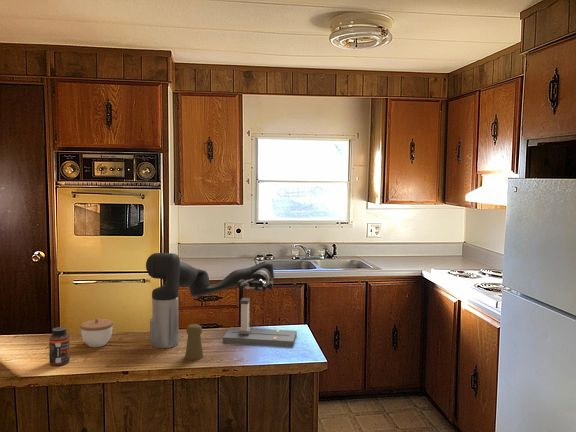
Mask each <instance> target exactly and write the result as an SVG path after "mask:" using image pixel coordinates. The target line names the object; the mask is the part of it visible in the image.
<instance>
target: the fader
mask: <svg viewBox="0 0 576 432" xmlns="http://www.w3.org/2000/svg"><path fill="white" fill-rule="evenodd" d="M239 301H240V327H239V328H240V329H239V331H238V334H250V332H251V330H252V328H253V327H252V326H250V302H251V298H250V297H242V298H241V299H240V300H239Z"/></svg>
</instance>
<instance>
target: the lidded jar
mask: <svg viewBox="0 0 576 432" xmlns="http://www.w3.org/2000/svg"><path fill="white" fill-rule="evenodd" d="M113 323H114V322H113V320H110V319H108V318H95V319H89V320H86V321H83V322H82V323H81V324H80V333H81V335H80V336H81V337H82V340H83V342H84V343H85V344H86V345H87V346H88V347H89V348H99V347H104V346H106V344H107V343H108V342H109V341H110V340H111V337H112V335H113V325H114V324H113Z"/></svg>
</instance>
